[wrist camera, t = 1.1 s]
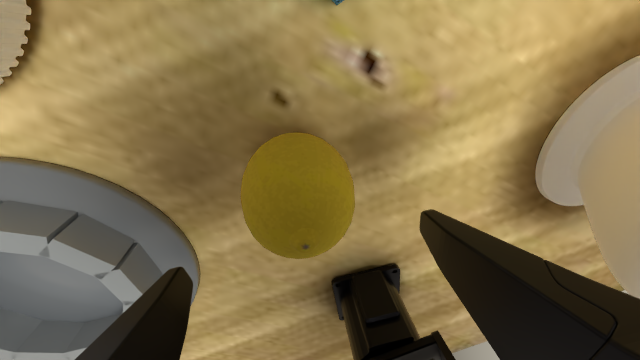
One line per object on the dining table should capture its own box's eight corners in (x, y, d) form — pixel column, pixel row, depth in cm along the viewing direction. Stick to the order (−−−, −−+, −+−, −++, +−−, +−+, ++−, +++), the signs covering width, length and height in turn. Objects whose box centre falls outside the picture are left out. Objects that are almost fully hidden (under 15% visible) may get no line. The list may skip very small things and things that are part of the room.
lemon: (348, 132, 15) (406, 203, 8) (317, 200, 17) (342, 301, 10) (262, 102, 13) (246, 161, 7) (241, 182, 16) (212, 288, 9)
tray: (232, 309, 22) (225, 344, 19) (34, 357, 21) (0, 400, 19) (117, 126, 13) (77, 146, 10) (-241, 196, 12) (-384, 238, 9)
